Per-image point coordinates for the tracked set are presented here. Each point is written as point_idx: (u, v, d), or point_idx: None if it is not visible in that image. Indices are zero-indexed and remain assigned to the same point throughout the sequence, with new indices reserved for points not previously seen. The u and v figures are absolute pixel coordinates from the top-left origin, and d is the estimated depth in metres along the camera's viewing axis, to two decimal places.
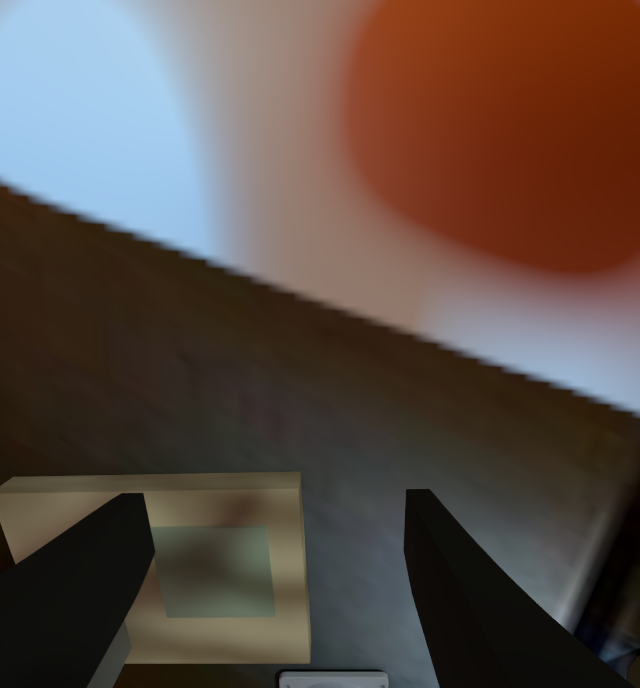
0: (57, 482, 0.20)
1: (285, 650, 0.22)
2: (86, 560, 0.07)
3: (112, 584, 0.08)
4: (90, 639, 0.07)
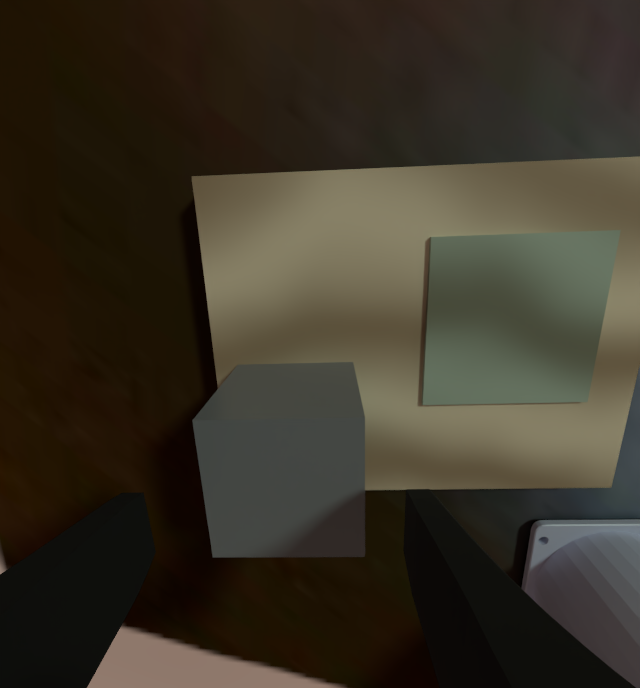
0: None
1: (581, 465, 0.15)
2: (86, 560, 0.07)
3: (112, 584, 0.08)
4: (90, 639, 0.07)
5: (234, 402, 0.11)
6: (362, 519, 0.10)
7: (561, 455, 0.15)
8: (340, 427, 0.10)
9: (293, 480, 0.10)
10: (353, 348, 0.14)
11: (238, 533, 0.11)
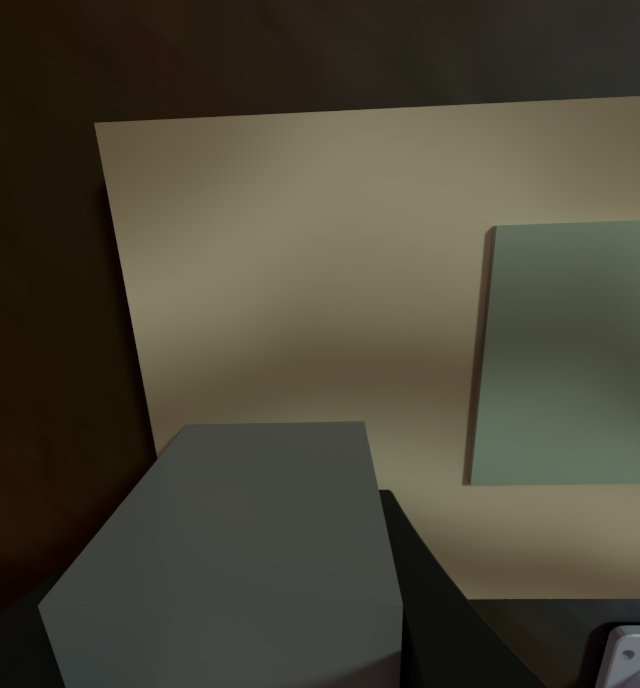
0: None
1: None
2: None
3: None
4: None
5: (146, 537, 0.06)
6: None
7: None
8: (349, 621, 0.05)
9: None
10: (364, 401, 0.09)
11: None
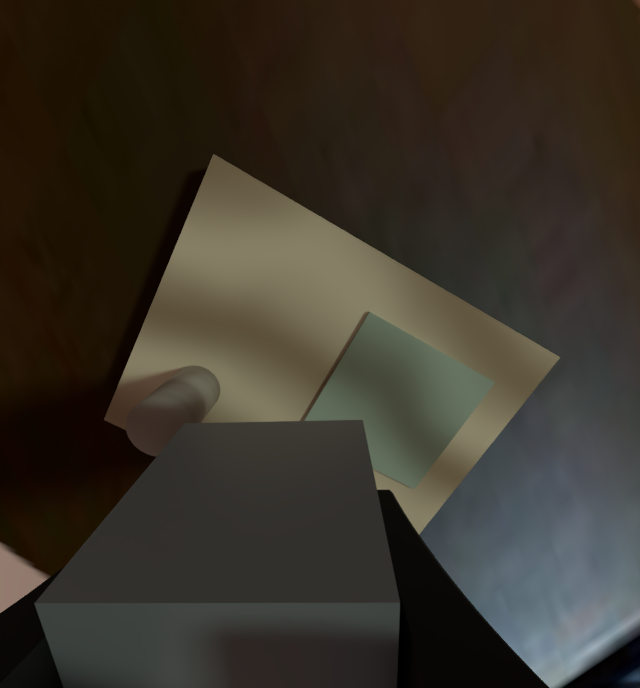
0: None
1: None
2: None
3: None
4: None
5: (143, 535, 0.06)
6: None
7: None
8: (346, 619, 0.05)
9: None
10: (269, 360, 0.16)
11: None
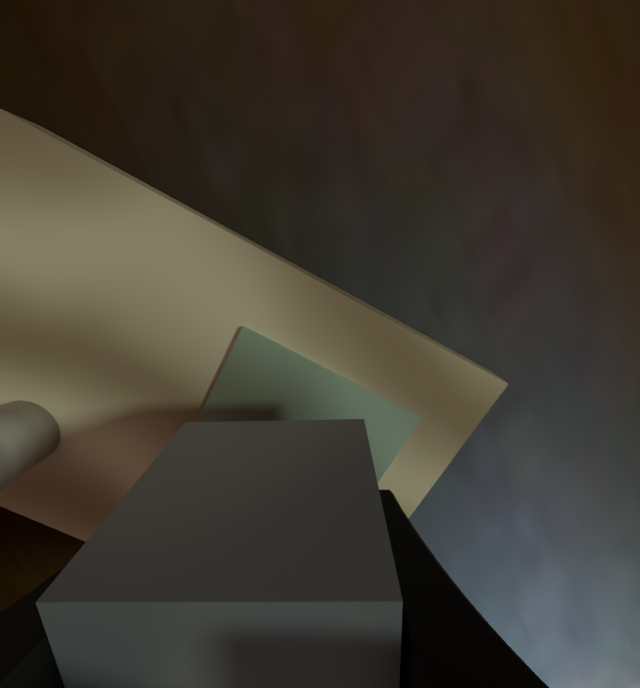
0: (125, 173, 0.11)
1: None
2: None
3: None
4: None
5: (144, 533, 0.06)
6: None
7: None
8: (348, 618, 0.05)
9: None
10: (118, 392, 0.12)
11: None
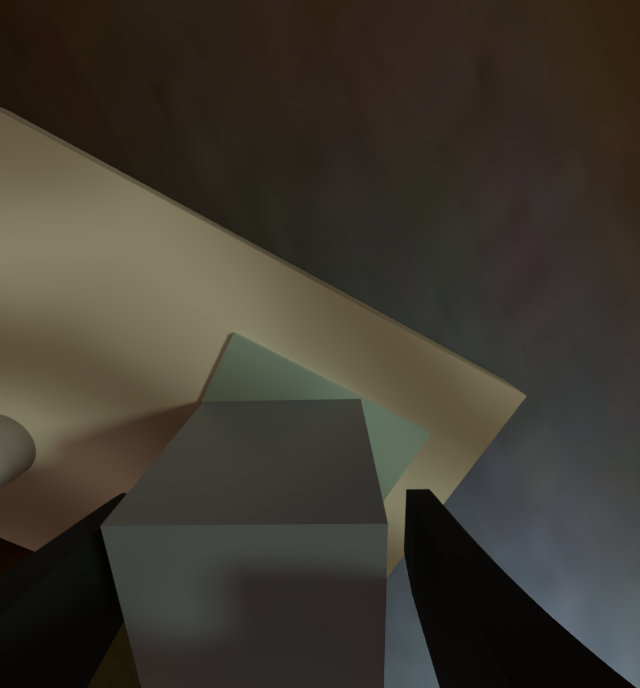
0: (103, 163, 0.10)
1: None
2: (86, 560, 0.07)
3: (112, 584, 0.08)
4: (90, 639, 0.07)
5: (179, 482, 0.07)
6: (380, 669, 0.07)
7: None
8: (345, 538, 0.06)
9: (270, 614, 0.06)
10: (98, 404, 0.11)
11: (186, 685, 0.07)
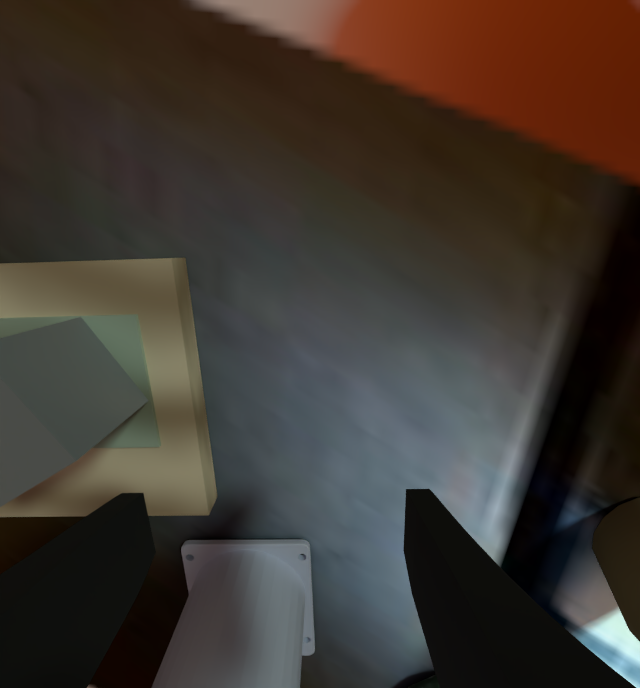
0: None
1: (177, 497, 0.19)
2: (86, 560, 0.07)
3: (112, 584, 0.08)
4: (90, 639, 0.07)
5: None
6: (46, 430, 0.12)
7: (159, 489, 0.18)
8: None
9: None
10: None
11: None
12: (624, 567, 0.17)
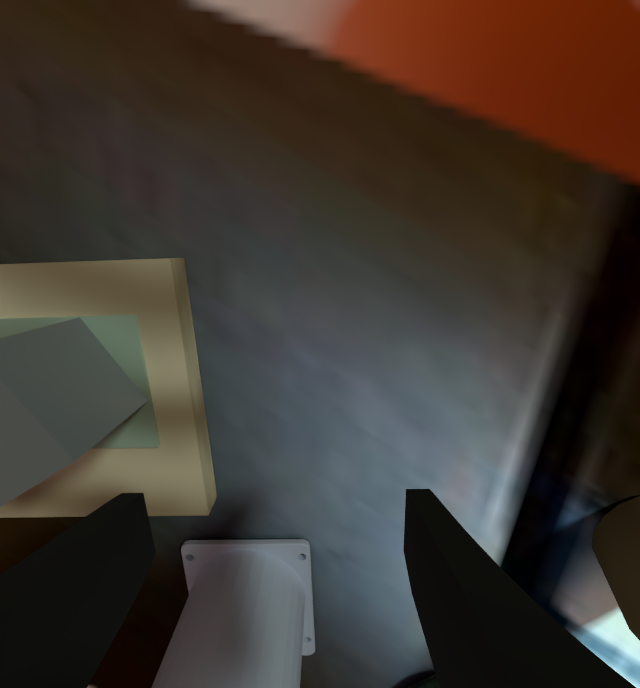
0: None
1: (177, 497, 0.19)
2: (86, 560, 0.07)
3: (112, 584, 0.08)
4: (90, 639, 0.07)
5: None
6: (45, 430, 0.12)
7: (158, 489, 0.18)
8: None
9: None
10: None
11: None
12: (624, 566, 0.17)
